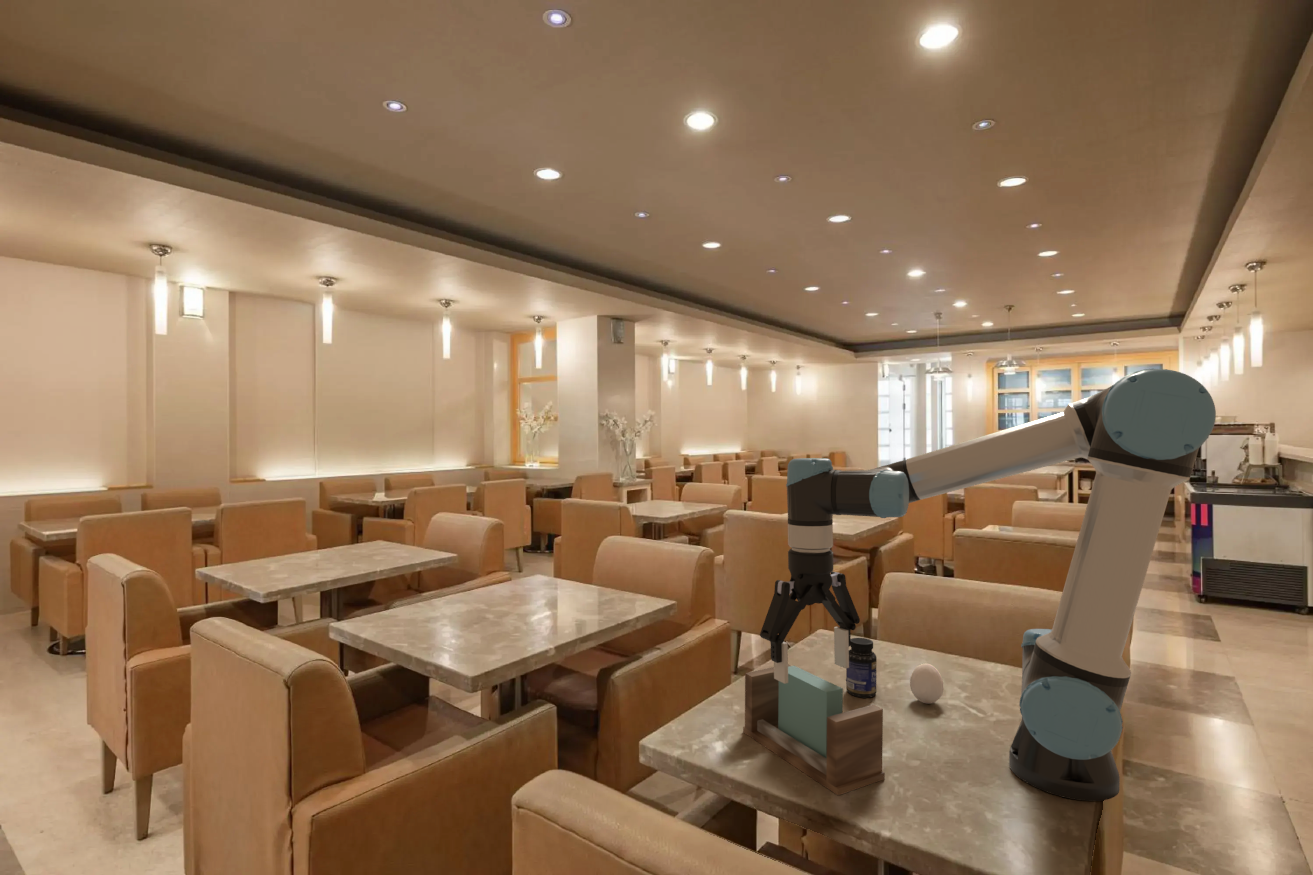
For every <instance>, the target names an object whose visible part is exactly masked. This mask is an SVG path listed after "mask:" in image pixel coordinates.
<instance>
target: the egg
mask: <svg viewBox="0 0 1313 875" xmlns="http://www.w3.org/2000/svg"><path fill="white" fill-rule="evenodd" d="M909 687H910V691H911V692H912V694H913V696H914V697H915V698H916V699H917V700H918V701H919V702H920V703H923V704H926V705H927V704H934V703H936V702H937V701H938V700H940V699H941V697H942V695H943V693H944V689H945V688H944V680H943V677H942V675H941V673H940V671H939V670H938V669H937V668H936V667H935V666H934V665H932V664H930V663H928V662H927V663H926V662H925V663H921V664H920V663H919V665H917V666H916V667H915V668H914V669H913V671H912V672H911V675H910V678H909Z"/></svg>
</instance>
